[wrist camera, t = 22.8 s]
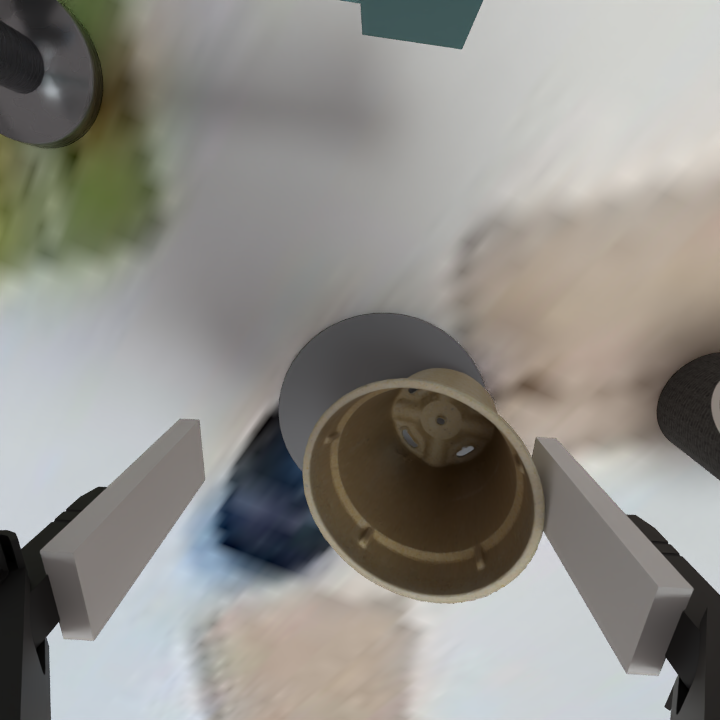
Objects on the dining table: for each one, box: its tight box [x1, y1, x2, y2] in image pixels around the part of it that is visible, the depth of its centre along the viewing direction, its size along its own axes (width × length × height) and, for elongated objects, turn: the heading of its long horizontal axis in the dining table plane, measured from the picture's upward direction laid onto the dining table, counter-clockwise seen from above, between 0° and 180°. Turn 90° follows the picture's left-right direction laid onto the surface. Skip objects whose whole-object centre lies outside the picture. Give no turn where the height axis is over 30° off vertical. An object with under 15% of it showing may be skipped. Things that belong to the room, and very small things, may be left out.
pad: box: [279, 313, 485, 472], centre depth 24 cm, size 13×13×1 cm
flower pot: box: [303, 368, 545, 604], centre depth 19 cm, size 9×9×9 cm
